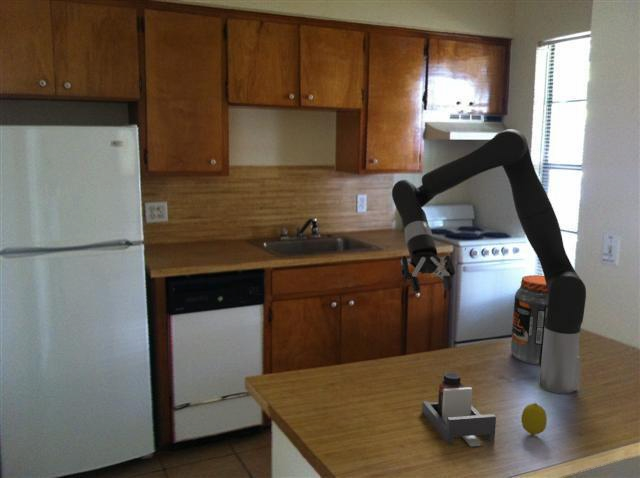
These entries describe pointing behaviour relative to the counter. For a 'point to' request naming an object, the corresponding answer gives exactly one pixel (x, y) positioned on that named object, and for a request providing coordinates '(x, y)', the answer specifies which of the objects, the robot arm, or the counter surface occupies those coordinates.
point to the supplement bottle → (449, 382)
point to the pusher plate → (458, 407)
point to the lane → (460, 423)
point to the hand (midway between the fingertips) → (433, 291)
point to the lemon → (534, 419)
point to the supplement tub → (529, 319)
